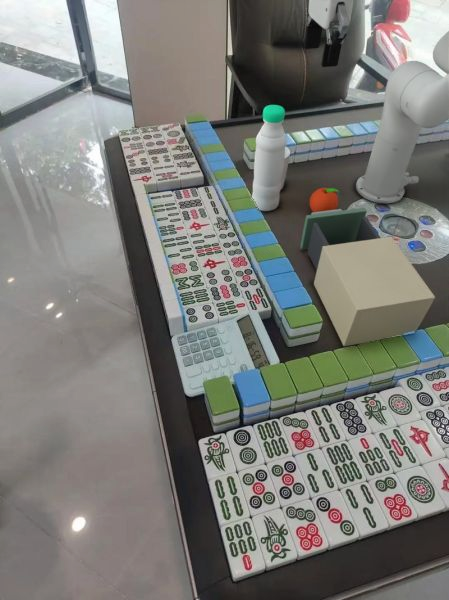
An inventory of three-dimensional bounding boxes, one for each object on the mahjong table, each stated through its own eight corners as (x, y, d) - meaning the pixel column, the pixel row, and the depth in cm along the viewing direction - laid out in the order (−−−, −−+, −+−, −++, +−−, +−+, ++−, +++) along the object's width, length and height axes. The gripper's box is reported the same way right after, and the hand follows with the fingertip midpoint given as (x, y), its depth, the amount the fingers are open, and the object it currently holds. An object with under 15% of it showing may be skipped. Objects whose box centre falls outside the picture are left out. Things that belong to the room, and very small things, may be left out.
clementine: (330, 202, 112) (335, 178, 107) (343, 217, 108) (350, 193, 103) (302, 208, 110) (307, 184, 105) (315, 224, 106) (320, 200, 101)
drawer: (294, 234, 102) (299, 203, 95) (347, 227, 104) (356, 196, 97) (324, 295, 89) (332, 264, 83) (384, 285, 91) (397, 254, 85)
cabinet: (313, 283, 93) (322, 246, 85) (377, 274, 95) (391, 236, 87) (343, 346, 82) (357, 310, 74) (414, 334, 84) (435, 297, 76)
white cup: (255, 177, 120) (257, 144, 112) (283, 176, 120) (287, 142, 113) (258, 194, 114) (261, 160, 107) (288, 192, 115) (292, 159, 107)
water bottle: (276, 214, 109) (289, 117, 90) (249, 210, 110) (255, 113, 91) (280, 198, 113) (292, 102, 95) (253, 194, 114) (260, 99, 95)
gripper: (381, -42, 68) (355, 72, 81) (339, -63, 79) (321, 40, 92) (337, -41, 67) (317, 75, 80) (300, -62, 78) (288, 42, 91)
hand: (319, 56), depth 86 cm, fingers open, 9 cm apart
